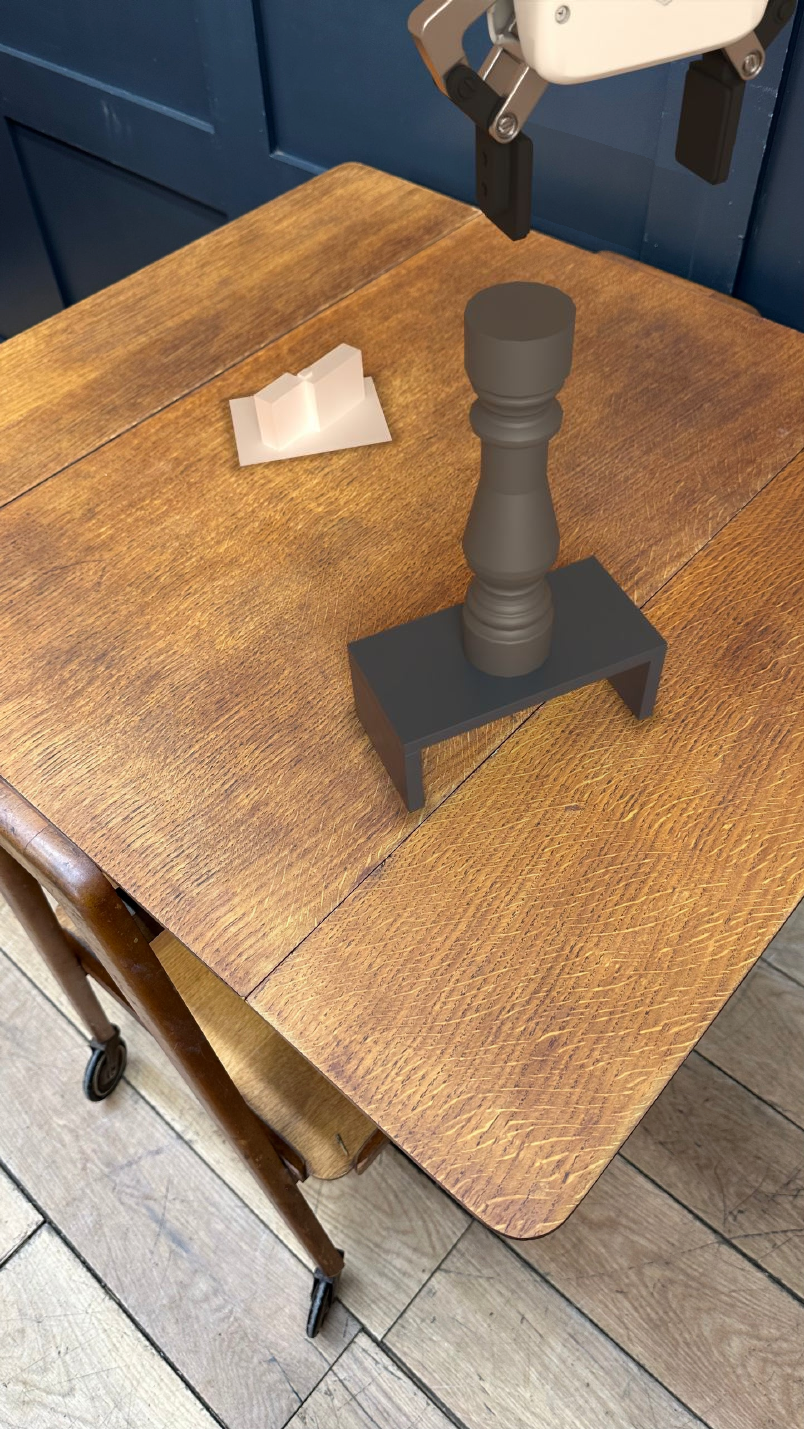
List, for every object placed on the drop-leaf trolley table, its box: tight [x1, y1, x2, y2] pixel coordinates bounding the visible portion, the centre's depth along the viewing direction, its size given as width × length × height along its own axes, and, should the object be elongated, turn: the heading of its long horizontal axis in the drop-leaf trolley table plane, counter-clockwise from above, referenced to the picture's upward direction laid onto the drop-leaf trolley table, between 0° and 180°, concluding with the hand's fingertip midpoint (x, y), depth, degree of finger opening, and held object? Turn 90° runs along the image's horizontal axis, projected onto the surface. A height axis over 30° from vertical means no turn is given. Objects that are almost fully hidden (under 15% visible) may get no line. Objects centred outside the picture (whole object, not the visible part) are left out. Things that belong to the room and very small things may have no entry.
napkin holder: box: [228, 342, 393, 467], centre depth 100 cm, size 15×11×6 cm
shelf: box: [346, 555, 669, 814], centre depth 75 cm, size 20×10×8 cm, turn 114°
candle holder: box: [461, 280, 577, 677], centre depth 62 cm, size 6×6×25 cm
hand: (604, 199), depth 45 cm, fingers open, 9 cm apart
